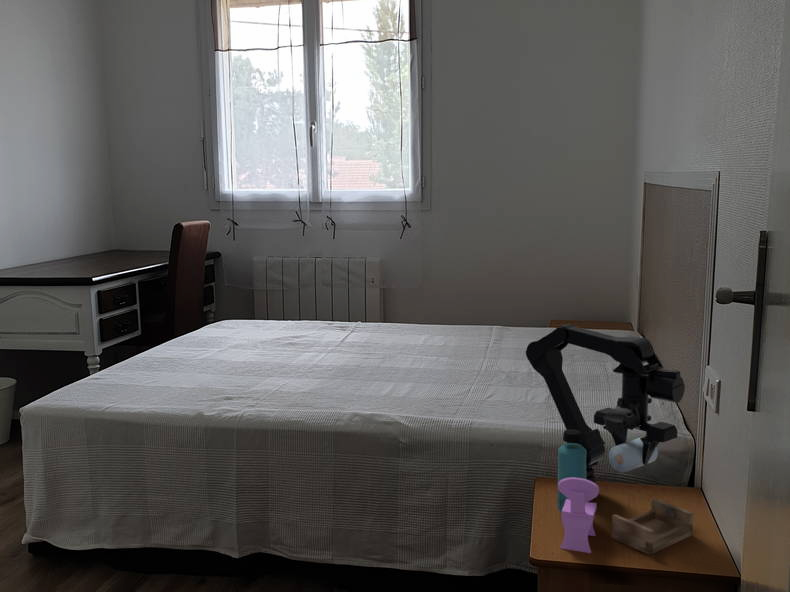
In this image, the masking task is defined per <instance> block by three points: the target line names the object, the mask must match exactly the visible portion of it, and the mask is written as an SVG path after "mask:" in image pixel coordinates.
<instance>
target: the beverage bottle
mask: <svg viewBox="0 0 790 592" xmlns="http://www.w3.org/2000/svg"><path fill="white" fill-rule="evenodd" d="M562 435H563V437H562V441H563V442H565V443H563V444H562V445H561V446H560V447H559V448H558V450H557V452H558V458H557V460H558V461H557V462H558V464H557V465H558V467H557V484H558V483H559V481H560V480H562V479H565V478H570V477H575V478H583V479H586V478H587V477H586V472H587V471H586V454H587V451H586V449H585V448H584V447H583V446H581V445H580V444H576V443H580V442H582V435H581V432H580V431H579V430H574V429H568V430H566V429H565V430H563V433H562ZM567 442H568V443H567ZM566 499H568V498H567V497H566V496H565V495H564V494H562V493H561V492H560V491H559V489H558V488H557V510H558V512H559V513H561V514H562V509H563V507H564V504H565V501H566ZM569 500H570V499H569Z"/></svg>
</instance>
